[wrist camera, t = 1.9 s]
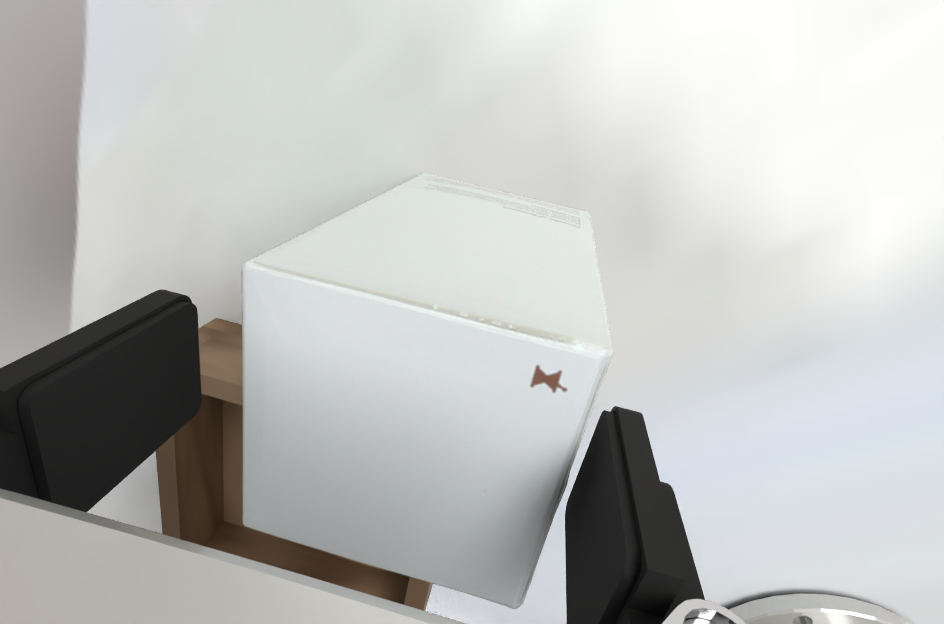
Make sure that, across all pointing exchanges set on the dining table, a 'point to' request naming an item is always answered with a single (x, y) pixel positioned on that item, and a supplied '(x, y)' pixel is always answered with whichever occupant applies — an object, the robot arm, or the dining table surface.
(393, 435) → the supplement box
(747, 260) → the dining table surface
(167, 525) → the wooden shadow box
